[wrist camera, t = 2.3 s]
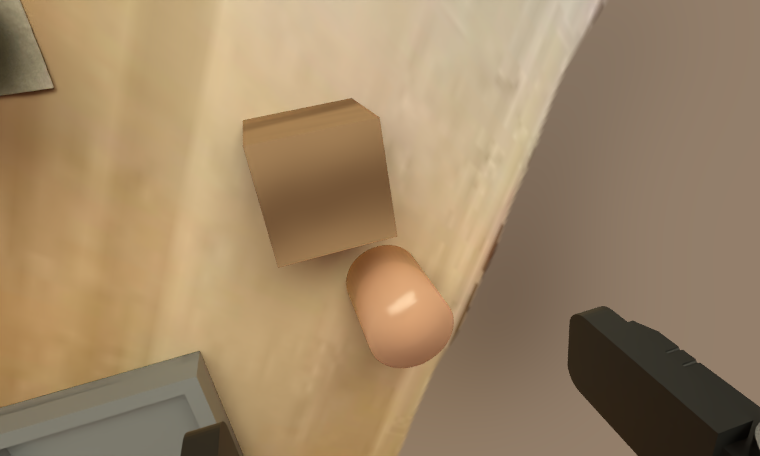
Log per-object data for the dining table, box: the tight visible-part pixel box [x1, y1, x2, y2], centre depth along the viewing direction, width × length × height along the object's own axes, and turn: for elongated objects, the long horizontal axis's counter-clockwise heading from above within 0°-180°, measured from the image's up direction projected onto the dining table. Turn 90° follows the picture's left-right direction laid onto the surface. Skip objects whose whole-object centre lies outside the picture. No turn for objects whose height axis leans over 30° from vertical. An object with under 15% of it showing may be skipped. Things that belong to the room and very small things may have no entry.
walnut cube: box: [243, 98, 397, 268], centre depth 24 cm, size 6×6×6 cm
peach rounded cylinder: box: [346, 245, 454, 368], centre depth 28 cm, size 5×5×6 cm
